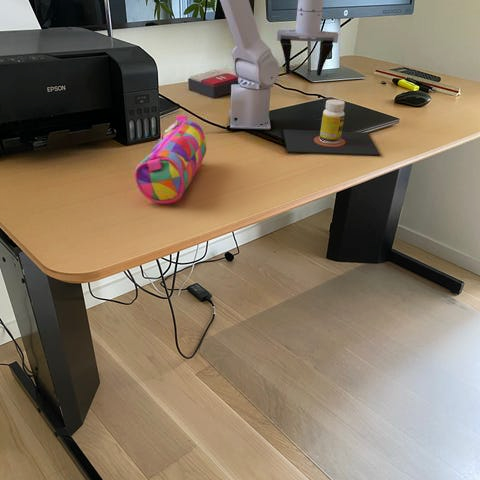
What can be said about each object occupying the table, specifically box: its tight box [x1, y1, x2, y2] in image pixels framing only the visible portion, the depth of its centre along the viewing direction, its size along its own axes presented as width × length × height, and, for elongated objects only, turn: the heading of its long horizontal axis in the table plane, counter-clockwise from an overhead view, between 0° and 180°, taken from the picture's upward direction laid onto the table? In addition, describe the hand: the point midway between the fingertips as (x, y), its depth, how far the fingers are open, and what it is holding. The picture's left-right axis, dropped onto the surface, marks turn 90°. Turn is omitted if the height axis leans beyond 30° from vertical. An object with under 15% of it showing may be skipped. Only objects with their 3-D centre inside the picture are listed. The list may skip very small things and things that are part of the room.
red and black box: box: [187, 67, 240, 99], centre depth 145 cm, size 11×4×15 cm
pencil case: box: [134, 114, 207, 205], centre depth 92 cm, size 22×9×9 cm, turn 174°
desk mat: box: [282, 129, 381, 157], centre depth 115 cm, size 20×14×1 cm
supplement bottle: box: [319, 98, 346, 144], centre depth 112 cm, size 5×5×8 cm
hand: (303, 74), depth 125 cm, fingers open, 7 cm apart
